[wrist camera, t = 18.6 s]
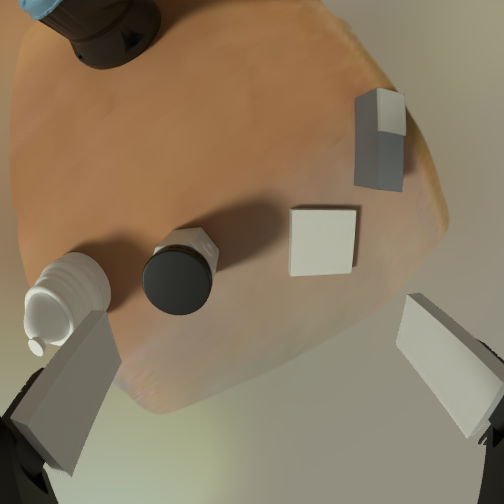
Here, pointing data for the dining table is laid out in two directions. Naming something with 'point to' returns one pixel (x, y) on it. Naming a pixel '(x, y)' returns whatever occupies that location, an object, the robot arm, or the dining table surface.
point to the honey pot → (64, 299)
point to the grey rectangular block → (380, 140)
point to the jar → (181, 271)
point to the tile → (321, 241)
